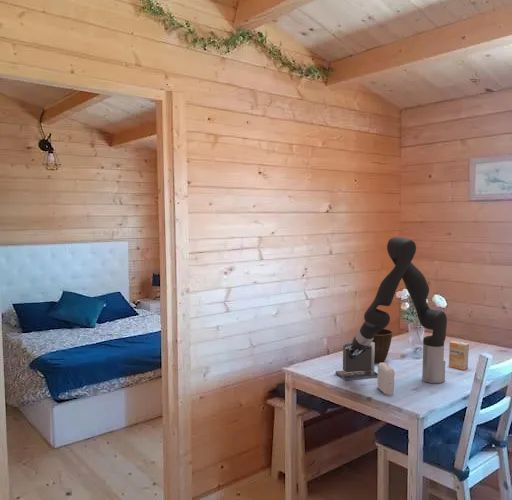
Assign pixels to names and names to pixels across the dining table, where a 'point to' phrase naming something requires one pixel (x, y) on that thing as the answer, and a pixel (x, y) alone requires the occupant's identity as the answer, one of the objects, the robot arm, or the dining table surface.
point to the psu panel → (357, 375)
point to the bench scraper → (359, 360)
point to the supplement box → (458, 355)
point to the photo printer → (385, 378)
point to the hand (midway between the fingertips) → (351, 357)
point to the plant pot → (382, 345)
